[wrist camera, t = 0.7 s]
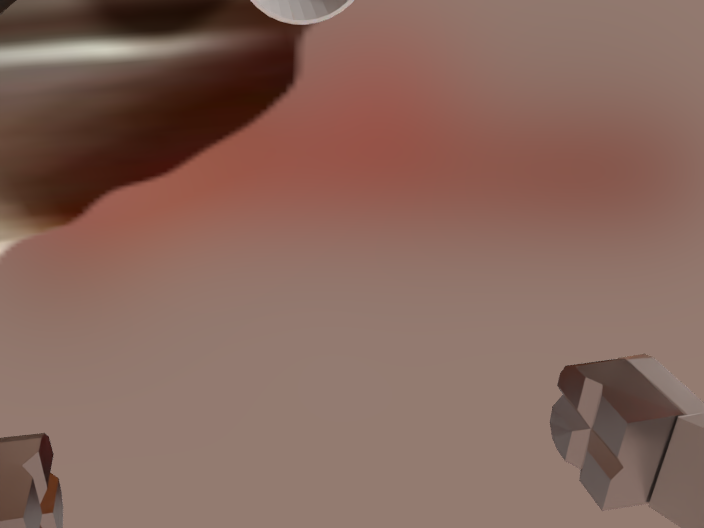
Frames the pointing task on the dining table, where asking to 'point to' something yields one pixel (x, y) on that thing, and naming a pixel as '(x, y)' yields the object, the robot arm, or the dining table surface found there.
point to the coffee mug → (301, 10)
